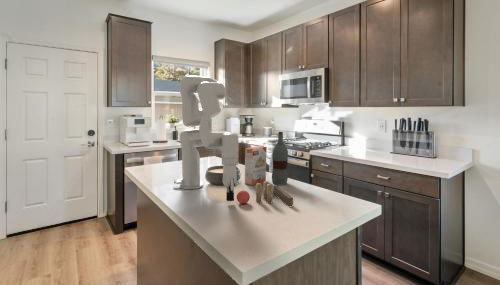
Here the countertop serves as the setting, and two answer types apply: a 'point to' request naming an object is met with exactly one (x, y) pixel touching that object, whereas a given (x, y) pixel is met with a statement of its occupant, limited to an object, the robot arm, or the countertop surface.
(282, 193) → the dark wooden bar
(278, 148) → the bottle
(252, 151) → the cracker box
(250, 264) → the countertop surface
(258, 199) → the front pin
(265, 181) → the pin
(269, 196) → the pin
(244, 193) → the ball
